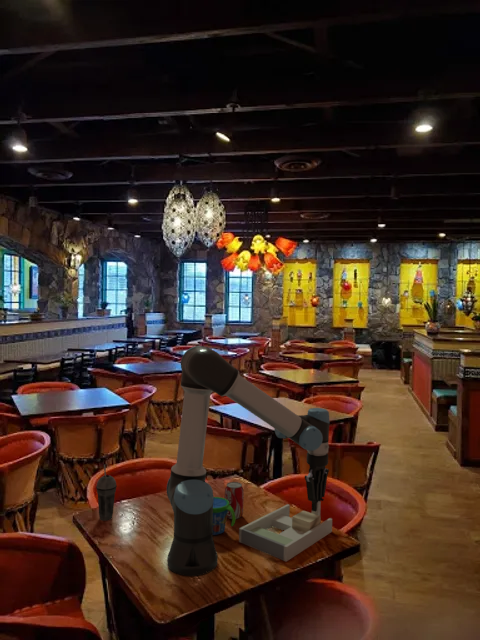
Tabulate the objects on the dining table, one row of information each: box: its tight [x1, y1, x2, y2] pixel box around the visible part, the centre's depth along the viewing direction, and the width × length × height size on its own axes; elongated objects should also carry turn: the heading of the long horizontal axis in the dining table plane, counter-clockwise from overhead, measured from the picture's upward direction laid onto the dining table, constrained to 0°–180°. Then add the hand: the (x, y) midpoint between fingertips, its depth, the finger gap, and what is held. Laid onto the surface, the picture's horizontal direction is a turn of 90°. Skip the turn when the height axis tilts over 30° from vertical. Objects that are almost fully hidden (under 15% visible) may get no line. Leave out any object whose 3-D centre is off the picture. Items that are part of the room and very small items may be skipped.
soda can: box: [224, 481, 245, 520], centre depth 183 cm, size 7×7×12 cm
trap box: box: [238, 503, 333, 562], centre depth 168 cm, size 28×19×4 cm
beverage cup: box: [95, 464, 118, 522], centre depth 179 cm, size 7×7×20 cm
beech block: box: [291, 510, 322, 533], centre depth 169 cm, size 7×7×4 cm
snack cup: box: [212, 496, 236, 536], centre depth 171 cm, size 16×10×10 cm
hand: (315, 519), depth 174 cm, fingers closed
